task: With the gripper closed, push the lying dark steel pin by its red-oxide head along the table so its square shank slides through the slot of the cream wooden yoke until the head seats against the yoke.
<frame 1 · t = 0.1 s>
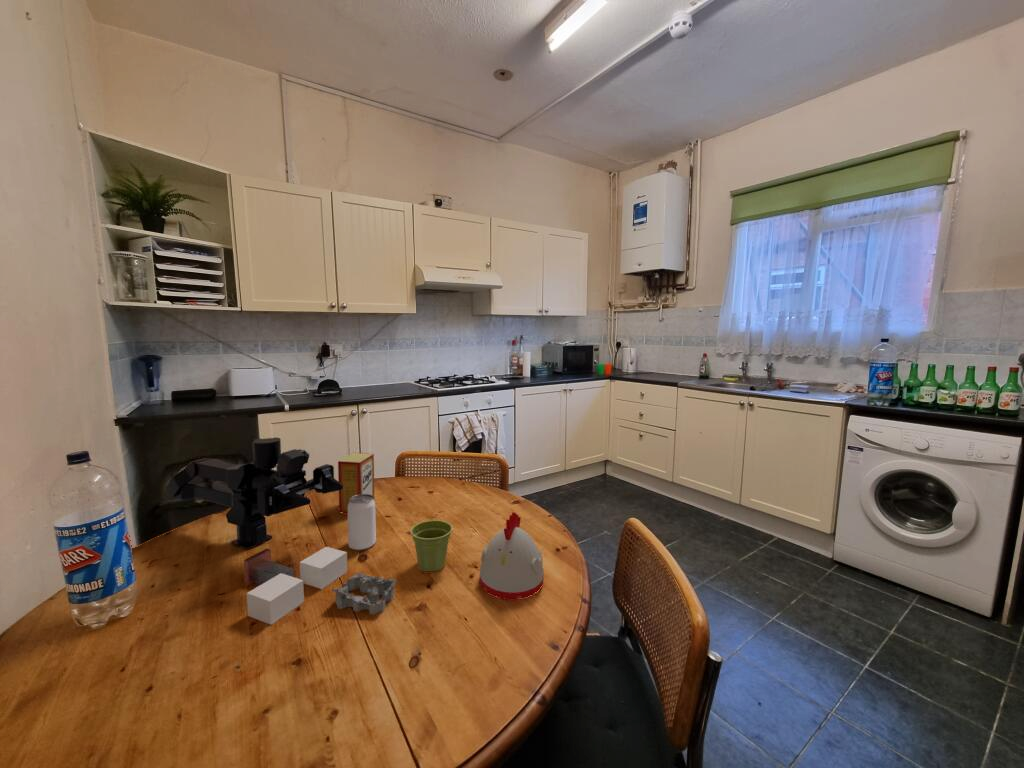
hand: (326, 494, 91), 17 cm above the table, tool horizontal, fingers open, 9 cm apart
plant pot: (431, 565, 93), on the table
egg carton: (365, 602, 80), on the table
can: (362, 545, 102), on the table
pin: (274, 582, 85), on the table
yoke: (302, 591, 82), on the table
baking soda box: (357, 508, 124), on the table
kitchen timer: (511, 580, 88), on the table
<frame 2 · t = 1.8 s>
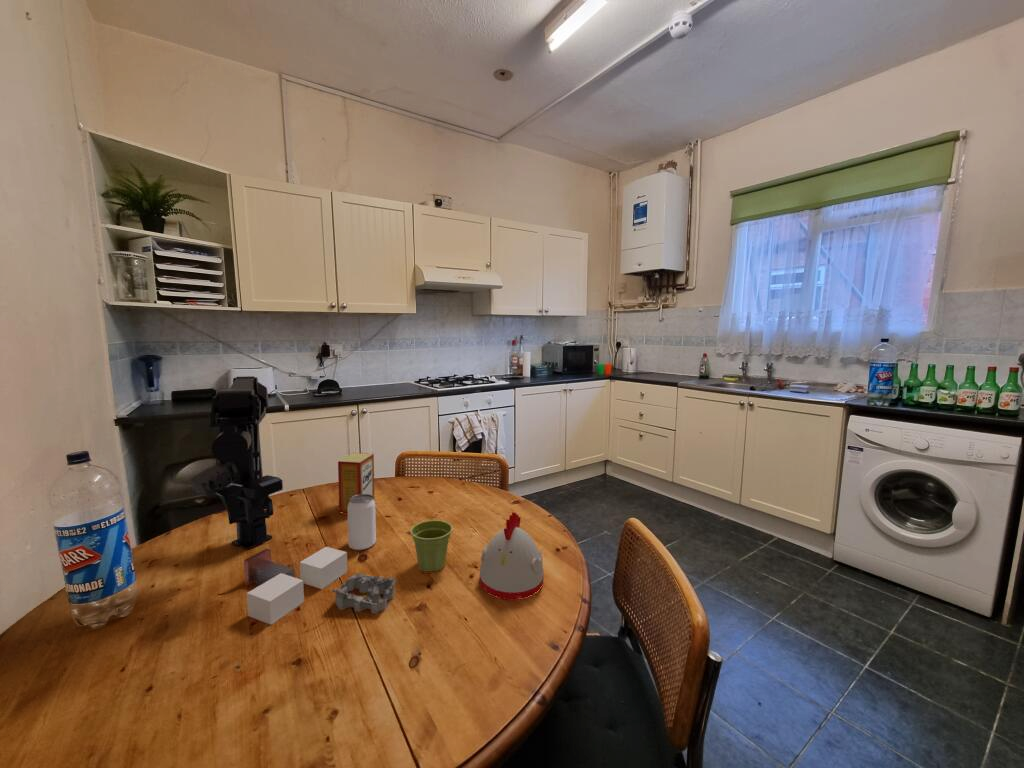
hand: (241, 520, 87), 12 cm above the table, tool pointing down, fingers open, 5 cm apart
nothing on the table moved.
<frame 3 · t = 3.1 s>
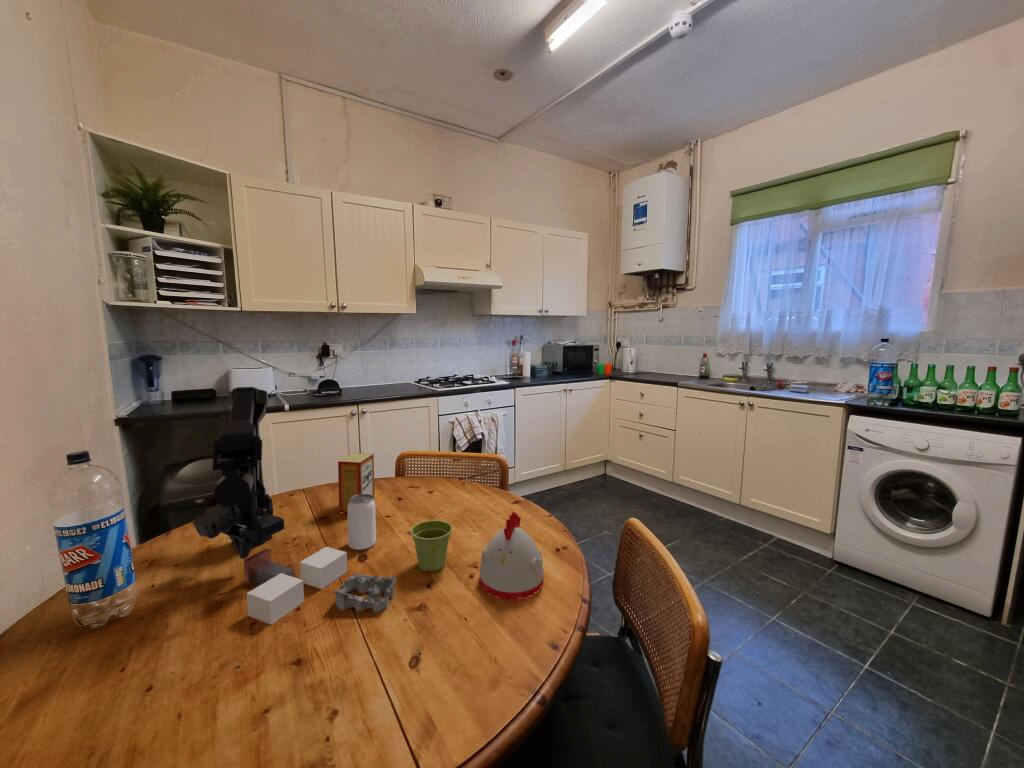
hand: (243, 558, 88), 3 cm above the table, tool pointing down, fingers closed
nothing on the table moved.
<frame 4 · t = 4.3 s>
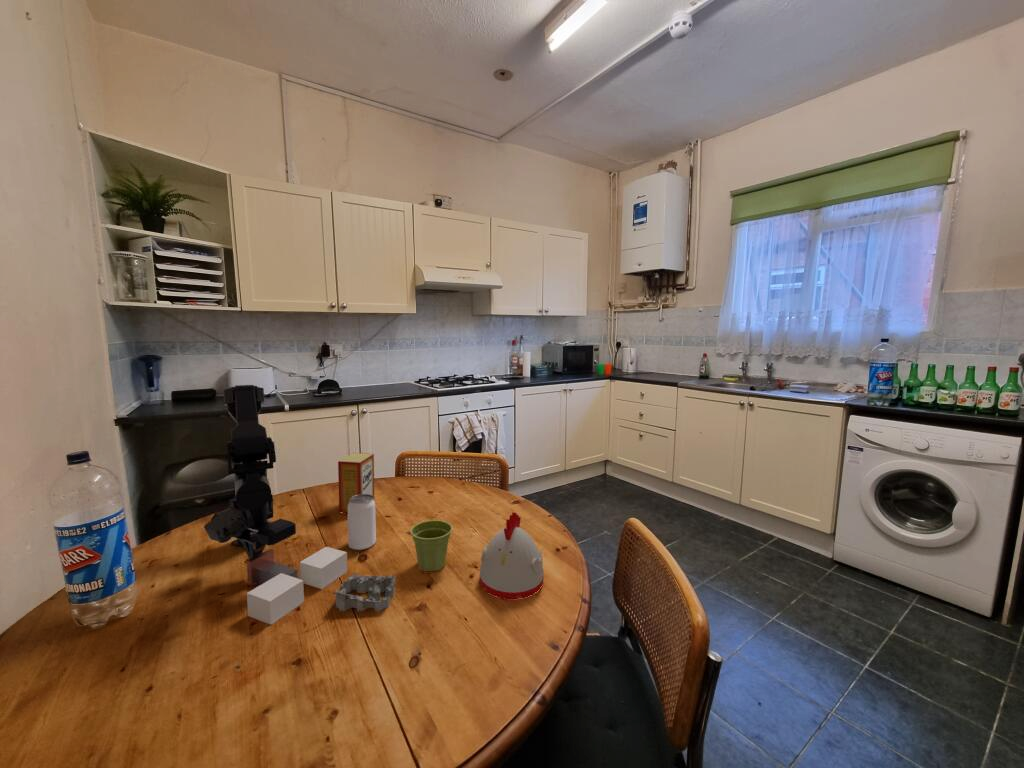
hand: (254, 562, 87), 3 cm above the table, tool pointing down, fingers closed
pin: (277, 583, 85), on the table, touching gripper
everything else where it was.
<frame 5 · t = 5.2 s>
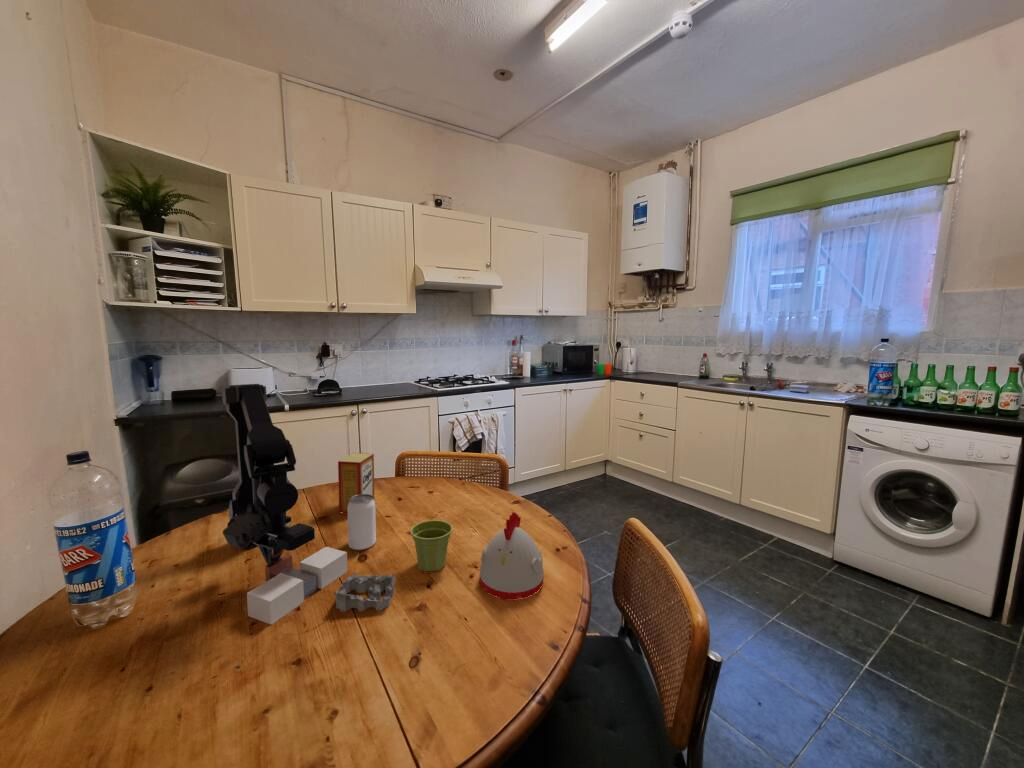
hand: (272, 568, 85), 3 cm above the table, tool pointing down, fingers closed
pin: (295, 589, 83), on the table, touching gripper
everything else where it was.
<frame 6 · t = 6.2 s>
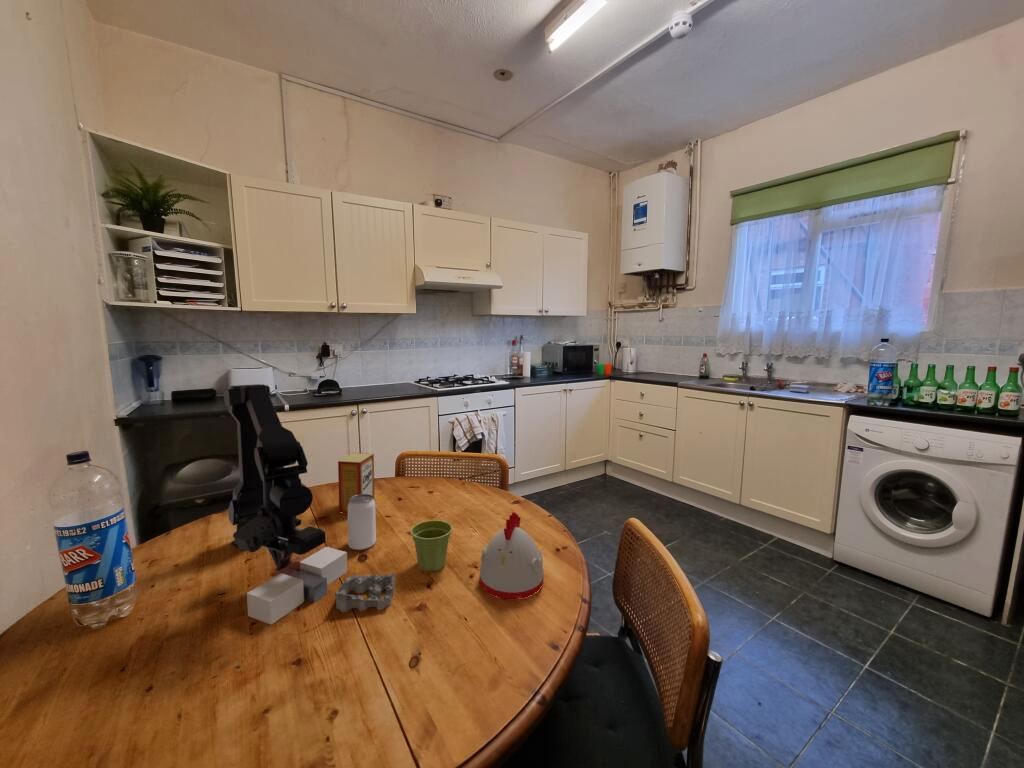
hand: (282, 571, 84), 3 cm above the table, tool pointing down, fingers closed
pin: (306, 592, 82), on the table, touching gripper, yoke
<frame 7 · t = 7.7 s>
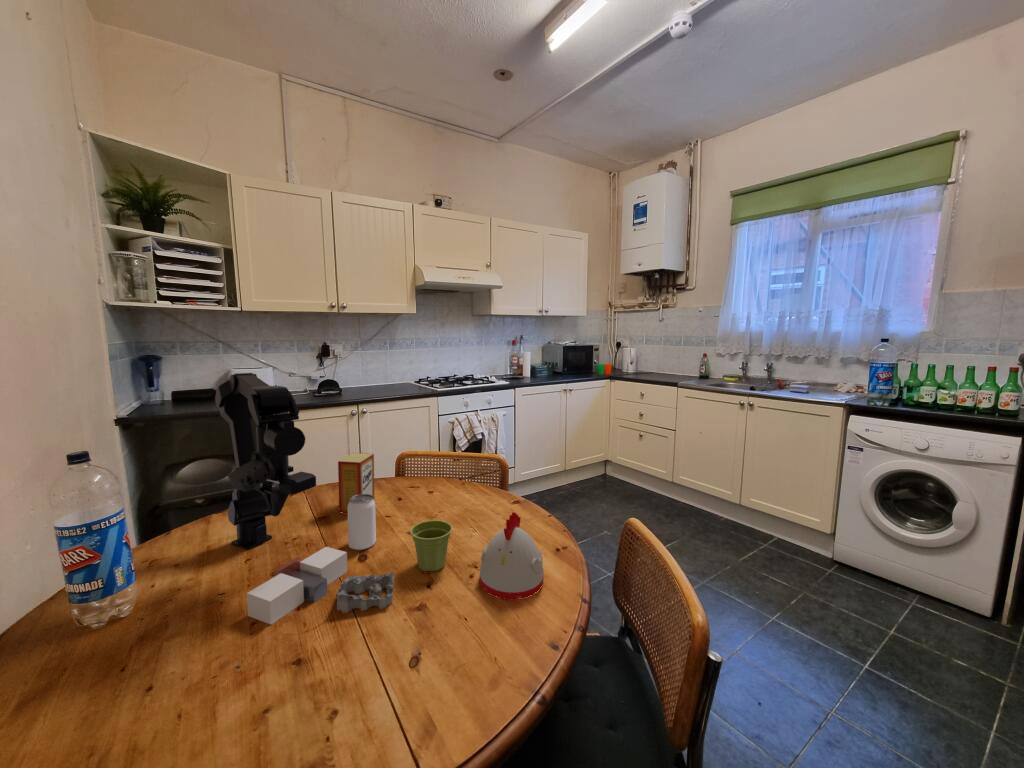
hand: (275, 515, 89), 13 cm above the table, tool pointing down, fingers closed
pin: (306, 593, 82), on the table
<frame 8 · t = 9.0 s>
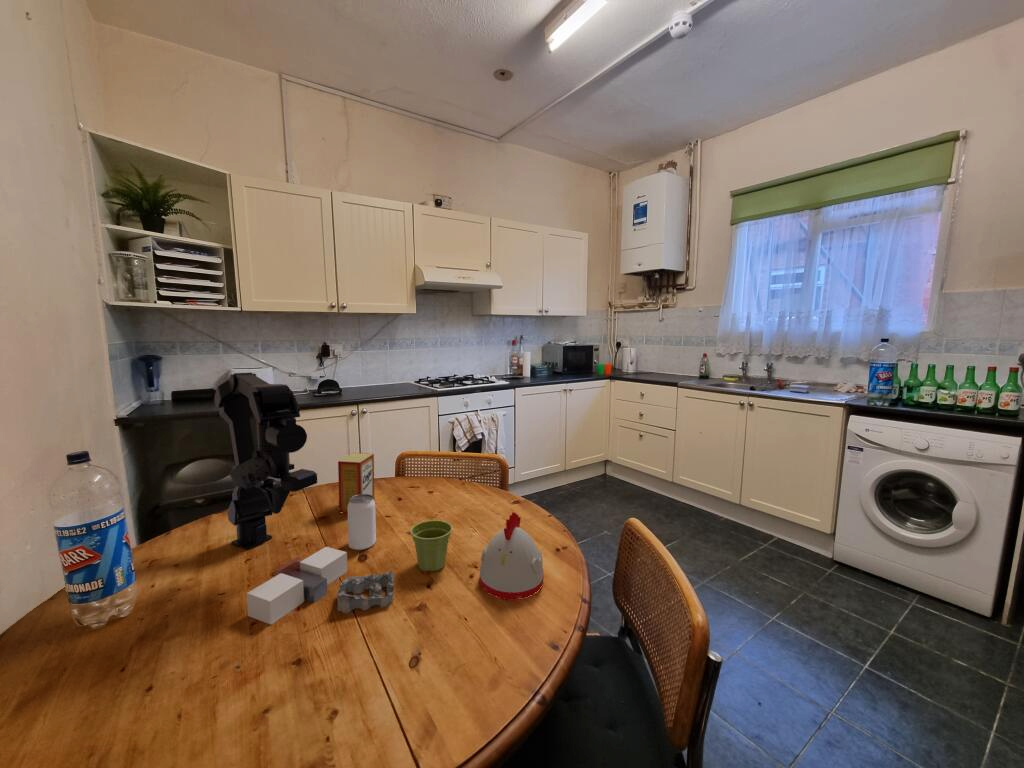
hand: (276, 513, 89), 13 cm above the table, tool pointing down, fingers closed
at the end: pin 0.1 cm from the target spot on the yoke, point 0.0 cm above the yoke's base; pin tilted 0° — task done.
